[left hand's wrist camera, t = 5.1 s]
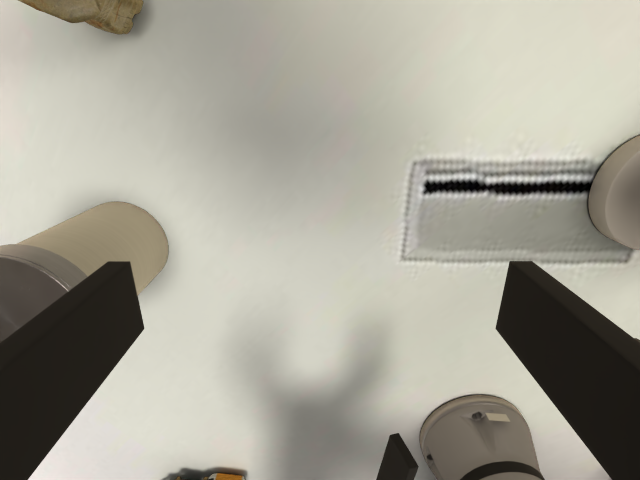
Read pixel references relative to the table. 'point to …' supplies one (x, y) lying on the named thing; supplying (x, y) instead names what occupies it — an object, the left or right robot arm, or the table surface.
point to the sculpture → (92, 12)
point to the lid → (31, 283)
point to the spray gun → (220, 477)
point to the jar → (109, 240)
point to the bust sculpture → (618, 196)
